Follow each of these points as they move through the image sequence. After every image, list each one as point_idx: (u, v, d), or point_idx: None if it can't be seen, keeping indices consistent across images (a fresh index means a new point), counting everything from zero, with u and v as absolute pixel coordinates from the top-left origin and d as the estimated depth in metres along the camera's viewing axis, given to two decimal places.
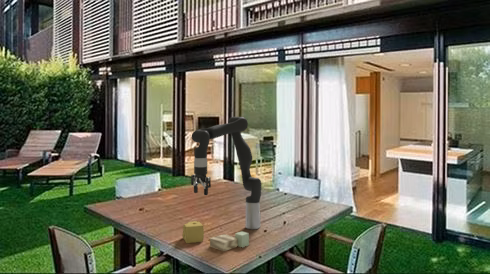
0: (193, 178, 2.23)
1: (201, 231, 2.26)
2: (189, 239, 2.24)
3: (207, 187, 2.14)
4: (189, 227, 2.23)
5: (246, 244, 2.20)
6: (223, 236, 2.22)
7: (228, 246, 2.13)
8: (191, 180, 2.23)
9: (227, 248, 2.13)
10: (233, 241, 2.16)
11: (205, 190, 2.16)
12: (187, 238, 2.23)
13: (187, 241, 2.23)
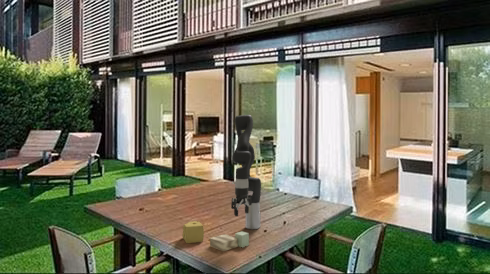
0: None
1: (201, 231, 2.26)
2: (189, 239, 2.24)
3: (251, 204, 2.24)
4: (189, 227, 2.23)
5: (246, 244, 2.20)
6: (223, 236, 2.22)
7: (227, 246, 2.13)
8: (234, 204, 2.13)
9: (227, 248, 2.13)
10: (232, 241, 2.16)
11: (248, 208, 2.22)
12: (187, 238, 2.23)
13: (187, 241, 2.23)
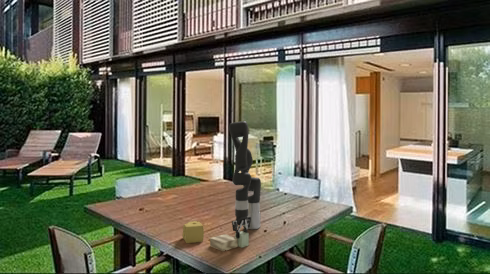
0: None
1: (201, 231, 2.26)
2: (189, 239, 2.24)
3: (249, 226, 2.24)
4: (189, 227, 2.23)
5: (246, 244, 2.20)
6: (223, 236, 2.22)
7: (227, 246, 2.13)
8: (235, 227, 2.15)
9: (226, 248, 2.13)
10: (232, 241, 2.16)
11: (246, 230, 2.23)
12: (187, 238, 2.23)
13: (187, 241, 2.23)
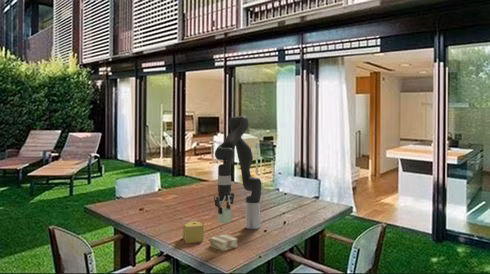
0: None
1: (201, 231, 2.26)
2: (189, 239, 2.24)
3: None
4: (189, 227, 2.23)
5: (228, 220, 2.16)
6: (224, 236, 2.22)
7: (226, 246, 2.13)
8: (218, 202, 2.12)
9: (226, 248, 2.13)
10: (232, 241, 2.15)
11: (229, 207, 2.20)
12: (187, 238, 2.23)
13: (187, 241, 2.23)
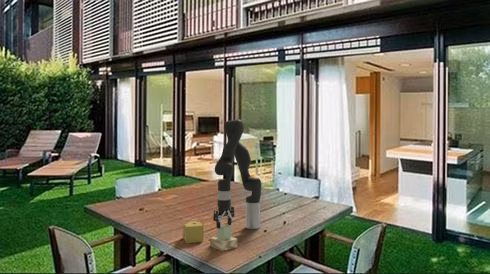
0: None
1: (201, 231, 2.26)
2: (189, 239, 2.24)
3: None
4: (189, 227, 2.23)
5: (228, 237, 2.17)
6: None
7: (226, 246, 2.13)
8: (216, 217, 2.12)
9: (225, 248, 2.13)
10: (232, 241, 2.15)
11: (231, 220, 2.21)
12: (187, 238, 2.23)
13: (187, 241, 2.23)
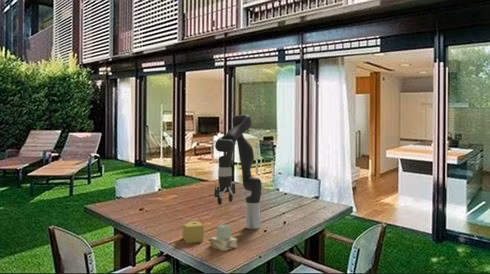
0: None
1: (201, 231, 2.26)
2: (189, 239, 2.24)
3: None
4: (189, 227, 2.23)
5: (228, 237, 2.17)
6: None
7: (226, 247, 2.13)
8: (218, 193, 2.13)
9: (225, 248, 2.13)
10: (232, 241, 2.15)
11: (232, 196, 2.22)
12: (187, 238, 2.23)
13: (187, 241, 2.23)
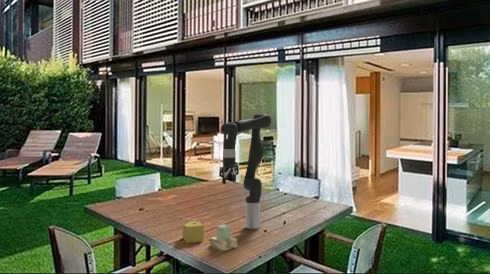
0: None
1: (201, 231, 2.26)
2: (189, 239, 2.24)
3: (238, 173, 2.38)
4: (189, 227, 2.23)
5: (228, 237, 2.17)
6: None
7: (226, 247, 2.13)
8: (222, 172, 2.27)
9: (225, 248, 2.13)
10: (232, 241, 2.15)
11: (235, 177, 2.37)
12: (187, 238, 2.23)
13: (187, 241, 2.23)
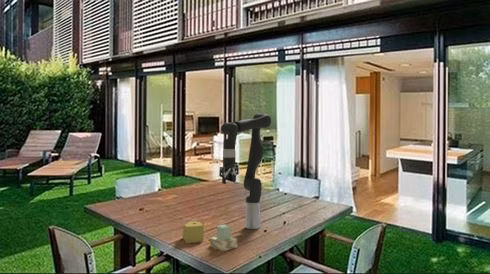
0: None
1: (201, 231, 2.26)
2: (189, 239, 2.24)
3: (238, 173, 2.38)
4: (189, 227, 2.23)
5: (228, 237, 2.17)
6: None
7: (226, 247, 2.13)
8: (222, 172, 2.27)
9: (225, 248, 2.13)
10: (232, 241, 2.15)
11: (235, 177, 2.37)
12: (187, 238, 2.23)
13: (187, 241, 2.23)
